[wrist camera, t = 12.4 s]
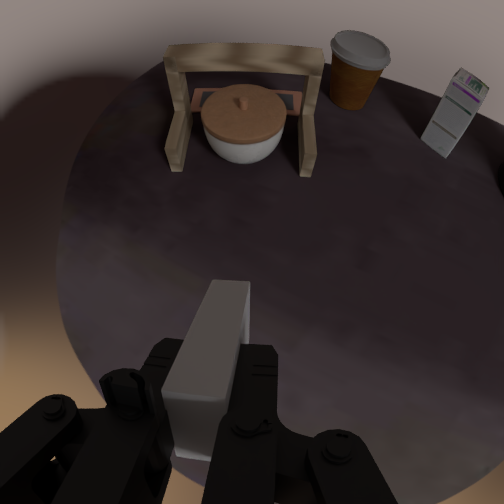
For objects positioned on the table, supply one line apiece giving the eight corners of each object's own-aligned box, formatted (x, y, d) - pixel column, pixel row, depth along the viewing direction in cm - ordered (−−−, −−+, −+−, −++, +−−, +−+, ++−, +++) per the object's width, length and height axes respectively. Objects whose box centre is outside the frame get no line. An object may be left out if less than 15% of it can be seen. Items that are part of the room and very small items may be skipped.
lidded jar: (291, 169, 43) (300, 121, 35) (214, 185, 42) (207, 138, 34) (269, 116, 47) (272, 69, 39) (200, 130, 46) (193, 82, 38)
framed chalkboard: (301, 93, 50) (301, 91, 49) (303, 116, 48) (303, 114, 47) (195, 89, 50) (195, 88, 50) (189, 112, 48) (188, 110, 47)
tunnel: (307, 125, 47) (322, 48, 33) (310, 177, 43) (331, 97, 30) (183, 121, 47) (168, 45, 34) (171, 171, 43) (147, 92, 30)
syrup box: (445, 160, 45) (486, 101, 32) (418, 138, 47) (452, 76, 33) (454, 144, 47) (491, 88, 34) (428, 124, 49) (460, 65, 35)
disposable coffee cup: (314, 81, 51) (324, 26, 40) (363, 84, 52) (379, 33, 41) (327, 116, 48) (341, 57, 37) (380, 118, 48) (402, 64, 37)
